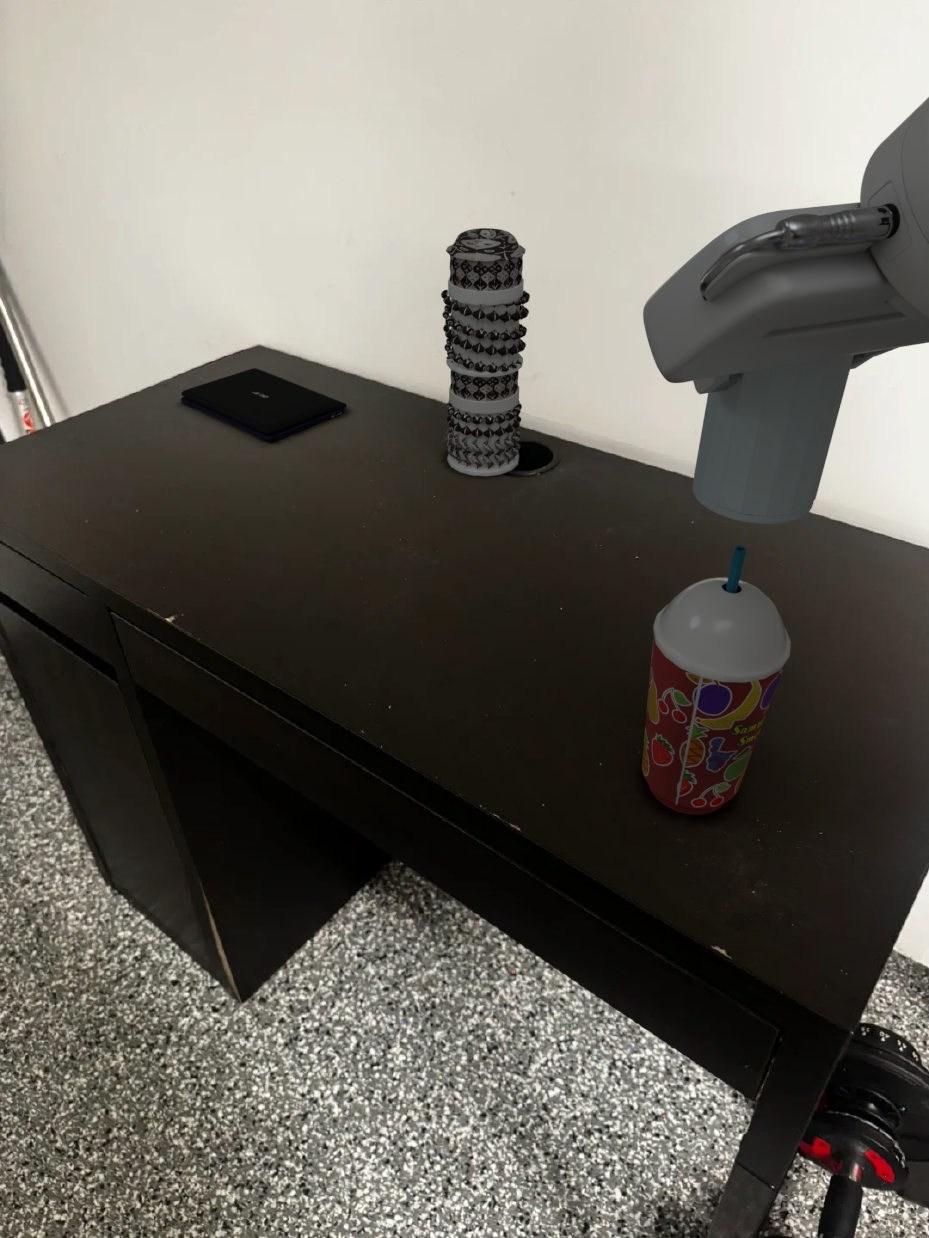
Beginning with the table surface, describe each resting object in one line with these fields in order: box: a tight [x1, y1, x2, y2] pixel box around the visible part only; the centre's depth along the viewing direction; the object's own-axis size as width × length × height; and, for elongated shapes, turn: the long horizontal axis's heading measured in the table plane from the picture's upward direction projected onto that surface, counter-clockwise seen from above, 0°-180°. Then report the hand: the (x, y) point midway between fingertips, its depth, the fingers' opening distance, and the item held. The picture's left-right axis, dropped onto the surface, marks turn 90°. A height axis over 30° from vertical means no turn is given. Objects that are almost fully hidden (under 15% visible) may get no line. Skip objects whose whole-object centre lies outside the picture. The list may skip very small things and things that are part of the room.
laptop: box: [180, 367, 347, 443], centre depth 116 cm, size 16×20×2 cm
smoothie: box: [641, 545, 792, 816], centre depth 58 cm, size 8×8×20 cm
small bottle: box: [691, 355, 854, 525], centre depth 45 cm, size 6×6×14 cm
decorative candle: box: [440, 227, 531, 477], centre depth 97 cm, size 9×9×25 cm
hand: (771, 368), depth 46 cm, fingers closed on small bottle, 6 cm apart
